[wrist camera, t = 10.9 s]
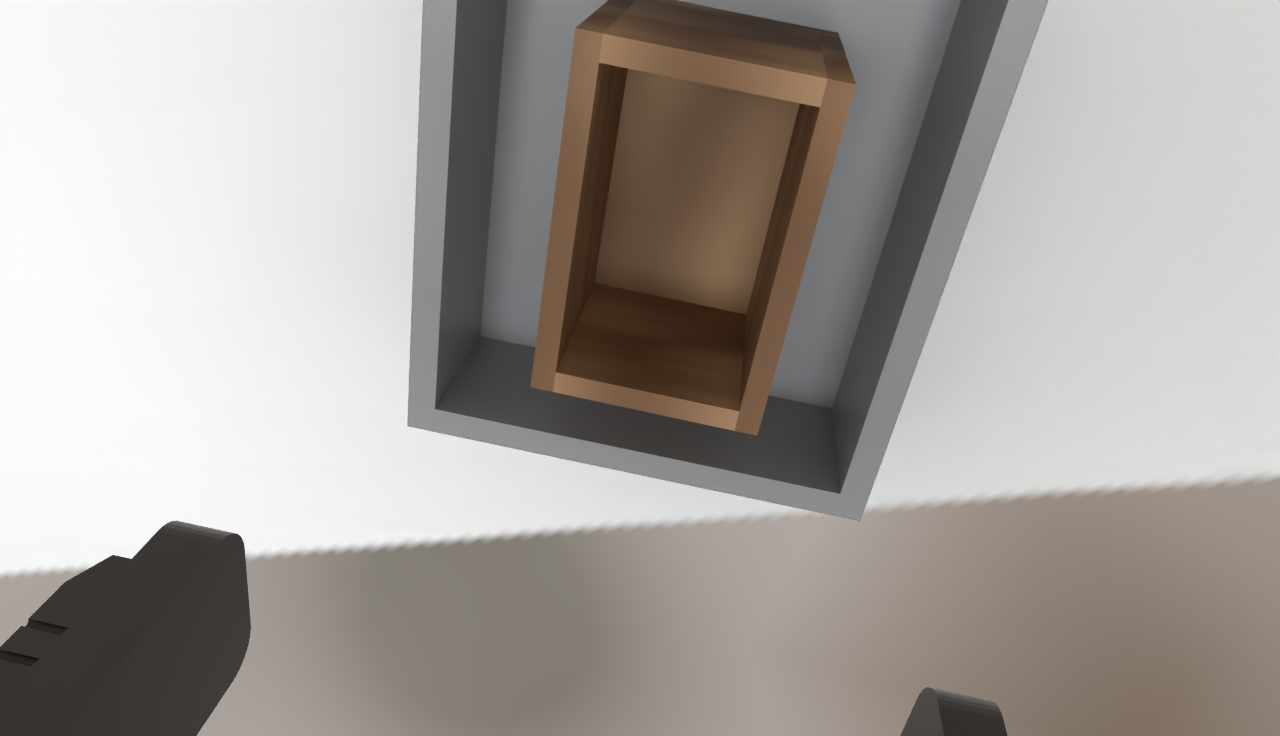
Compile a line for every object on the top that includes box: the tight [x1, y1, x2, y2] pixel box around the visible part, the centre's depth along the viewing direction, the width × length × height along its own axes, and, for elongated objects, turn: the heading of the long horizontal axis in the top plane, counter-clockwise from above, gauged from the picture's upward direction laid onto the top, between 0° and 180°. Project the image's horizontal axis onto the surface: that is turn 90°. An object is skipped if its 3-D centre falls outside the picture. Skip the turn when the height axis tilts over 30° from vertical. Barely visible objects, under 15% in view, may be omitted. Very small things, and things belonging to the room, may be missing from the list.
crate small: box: [531, 0, 856, 436], centre depth 24 cm, size 6×9×6 cm, turn 171°
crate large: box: [408, 0, 1048, 521], centre depth 25 cm, size 14×16×6 cm
